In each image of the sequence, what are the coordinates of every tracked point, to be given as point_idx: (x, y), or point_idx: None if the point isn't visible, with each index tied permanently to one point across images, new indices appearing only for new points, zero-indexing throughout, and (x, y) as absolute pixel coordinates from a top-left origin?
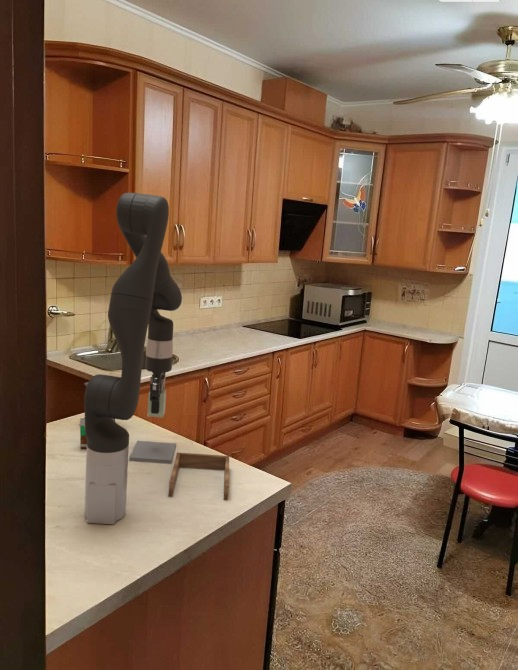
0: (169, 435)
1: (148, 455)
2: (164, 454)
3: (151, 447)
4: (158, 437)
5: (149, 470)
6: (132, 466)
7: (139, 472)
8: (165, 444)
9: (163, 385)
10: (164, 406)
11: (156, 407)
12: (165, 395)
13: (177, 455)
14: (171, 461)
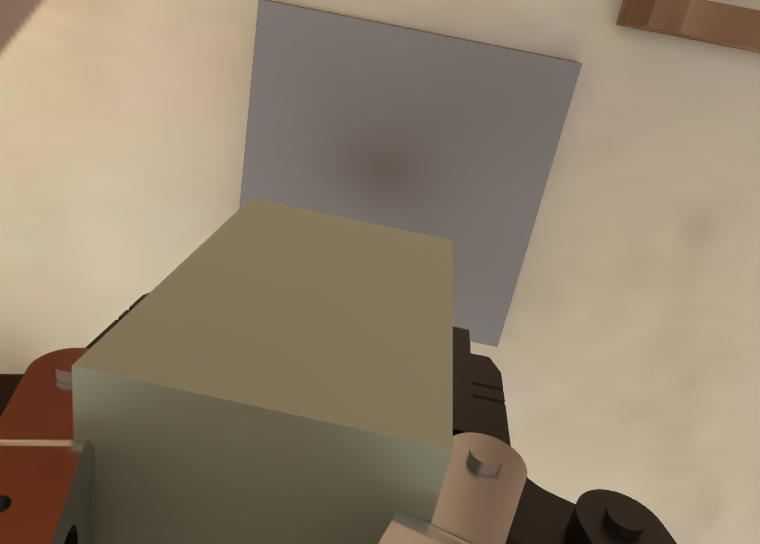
0: (64, 39)
1: (477, 229)
2: (470, 112)
3: (342, 200)
4: (116, 129)
5: (659, 223)
6: (580, 321)
7: (675, 285)
8: (286, 92)
9: (59, 529)
10: (325, 260)
11: (502, 415)
12: (213, 330)
13: (715, 26)
14: (567, 60)
